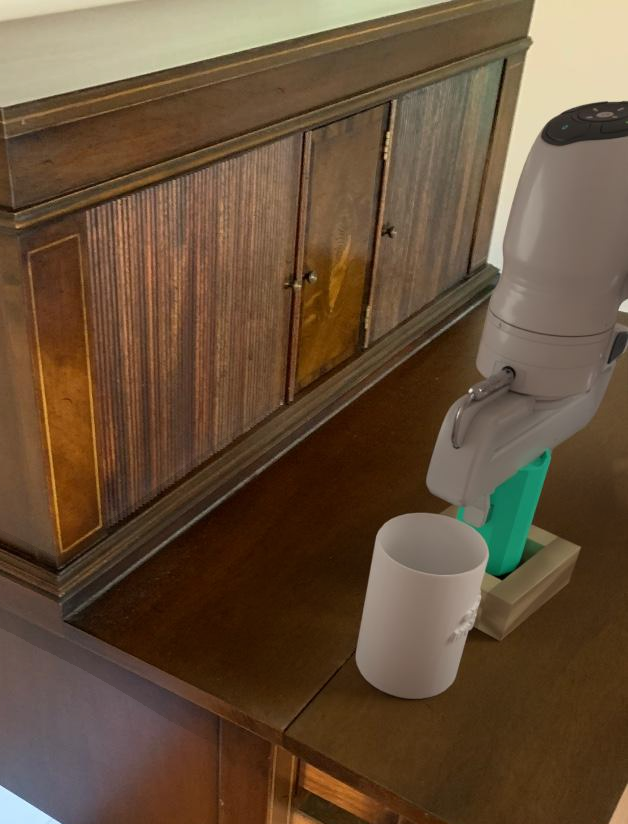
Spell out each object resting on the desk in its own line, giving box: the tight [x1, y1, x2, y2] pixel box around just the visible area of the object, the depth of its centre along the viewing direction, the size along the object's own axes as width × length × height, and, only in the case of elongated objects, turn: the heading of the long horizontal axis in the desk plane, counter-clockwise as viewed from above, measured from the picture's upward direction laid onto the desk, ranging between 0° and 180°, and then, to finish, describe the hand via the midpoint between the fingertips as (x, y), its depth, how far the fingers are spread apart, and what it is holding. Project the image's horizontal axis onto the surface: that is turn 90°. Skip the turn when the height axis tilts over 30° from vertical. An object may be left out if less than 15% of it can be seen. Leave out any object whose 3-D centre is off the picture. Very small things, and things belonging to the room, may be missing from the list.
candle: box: [456, 448, 552, 576], centre depth 76 cm, size 6×6×12 cm
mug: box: [355, 512, 489, 700], centre depth 71 cm, size 8×12×12 cm
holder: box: [438, 504, 582, 642], centre depth 81 cm, size 11×11×4 cm
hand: (498, 505), depth 77 cm, fingers closed on candle, 5 cm apart
